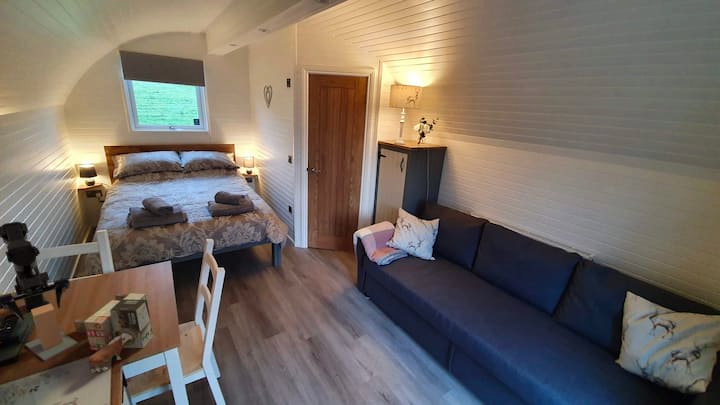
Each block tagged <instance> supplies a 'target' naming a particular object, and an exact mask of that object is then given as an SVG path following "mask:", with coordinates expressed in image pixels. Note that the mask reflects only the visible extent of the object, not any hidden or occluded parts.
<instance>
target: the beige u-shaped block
mask: <svg viewBox="0 0 720 405" xmlns="http://www.w3.org/2000/svg"><path fill="white" fill-rule="evenodd" d="M128 295H129V294H124V293H116V294H115V295H114V298H115V301H121V300H122V299H124V298H126V297H127V296H128ZM84 321H85V320H84V319H83V320H82V319H78V318H77V319H75V320H74V321H73V324H74V328H75V332H76V333H77V332H78V333H84V334H87V333H86V328H85V324H84Z"/></svg>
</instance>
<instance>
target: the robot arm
mask: <svg viewBox="0 0 720 405" xmlns="http://www.w3.org/2000/svg"><path fill="white" fill-rule="evenodd" d="M28 234H29V228H28V225H27V223H25V222H21V221H13V222H7V223H3V224H1V226H0V239H2V242H3V244H5V245H6V249H7V251H5V256H6V258H7V262H8V263H9V264H10V263H12V264H13V265H12V266H13V269H14V271H15V275H16V276H15V280H14V281H15V283H16V284H14V285H13V287H14V290H15V293H16V295H13V296H12V293H9V294H5V295H0V310H4V311H7V310H9V311H10V312H12V313H13V314H15V315H16V316H17V317H18V318H19V319H20V320H21V321H22V322H24V321H25V318H24V316H23V313H22V312H21V310H20V308H19V306H18V305H17V303H16V302H18V301H20V300H23V303H24V305H22V307H21V308H23V309H24V310H26V312H29V313H30V312H31V310H32V309H35V308H38V307H41V306H44V305H47V304H50V302H49V301H48V300H47V299H45V295H44V293H47V292H51V291H53V290H55V291H54V292H55V300H56V305H57V308H58V310H59V309H61V302H62V301H61V300H62V296H63V293H65V292H67V290H69V289H70V288H71V286H70V285H71V283H70V280H69V278H66V277H64V278H61V279H58V280H54V281H53V284H51V285H49V283H48V281H49V280H50V277H49V274H48V271H43V272H40V268H39V267H38V260H37V257H39V255H40V253H41V252H40V250H39V248H38V247H36V246H35V245H33V244H32V242H31V241H30V240H28ZM31 313H32V312H31Z"/></svg>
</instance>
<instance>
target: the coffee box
mask: <svg viewBox="0 0 720 405" xmlns="http://www.w3.org/2000/svg"><path fill="white" fill-rule="evenodd" d="M110 314H111V318H112V322H113V327H114V331H115V335H116V337H118V336H121V332H123V333H128V334H130V335H132V336H133V337H132V339H128V340H127V341H126V342H124V345H123V346H122V349H123V348H124V349H126V348H127V349H143V348H145V346H146V345H147V344H148V343H150V341H151V340H152V339H153V338H154V332H153V328H152V322H151V316H150V310H149V305H148V299H146V300H133V299H122V300H121V301H119V302H118V303H117V304H116V305H115V306H114V307H113V308H112V309H111V310H110Z"/></svg>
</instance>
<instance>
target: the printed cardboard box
mask: <svg viewBox="0 0 720 405" xmlns="http://www.w3.org/2000/svg"><path fill="white" fill-rule="evenodd" d="M127 295H128V296H127V297H126V298H124V299H133V300H147V295H146V293H133V292H132V293H131V292H130V293H129V294H127ZM118 302H119V301H116V299H115V300H113V299H112V300H111V301H109V302H108V303H106V304H105V305H104V306H103V307H102V308H101V309H99V310H97V311H96V312H95V313H94V314H92V315H91V316H89V317H88V318H87V319H85V320H84V324H85V328H86V333H85V334H86V336H87V339H88V343H89V344H88V345H89V348H90V349H89V350H91V351H97V350H100V349H102V348H103V347H104V346H106V345H107V344H108V343H109V342H111V341H112V340H114V339H115V338H116V335H115V331H114V327H113V322H112V318H111V314H110V310H111V309H112V308H113V307H114V306H115V305H116V304H117V303H118Z"/></svg>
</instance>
